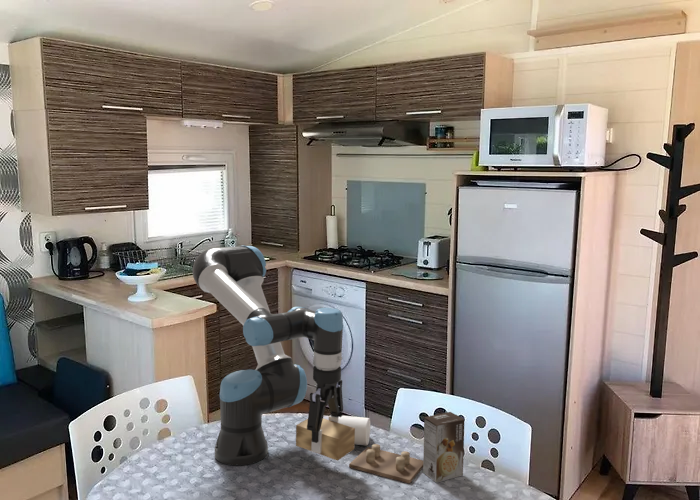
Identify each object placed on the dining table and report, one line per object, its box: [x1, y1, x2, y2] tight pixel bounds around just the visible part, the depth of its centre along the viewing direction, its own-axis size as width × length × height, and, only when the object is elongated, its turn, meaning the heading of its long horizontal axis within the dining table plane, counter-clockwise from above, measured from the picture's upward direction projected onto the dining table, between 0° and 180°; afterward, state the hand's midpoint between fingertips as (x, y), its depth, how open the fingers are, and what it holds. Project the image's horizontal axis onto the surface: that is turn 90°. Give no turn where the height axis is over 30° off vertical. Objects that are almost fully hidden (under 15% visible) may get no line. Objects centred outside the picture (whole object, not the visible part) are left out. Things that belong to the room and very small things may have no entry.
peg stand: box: [348, 443, 423, 485], centre depth 163 cm, size 18×12×4 cm, turn 62°
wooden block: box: [295, 417, 355, 462], centre depth 160 cm, size 14×8×6 cm, turn 57°
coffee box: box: [422, 411, 465, 484], centre depth 158 cm, size 9×6×16 cm
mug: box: [338, 415, 371, 447], centre depth 179 cm, size 12×10×8 cm
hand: (324, 445), depth 160 cm, fingers closed on wooden block, 8 cm apart
